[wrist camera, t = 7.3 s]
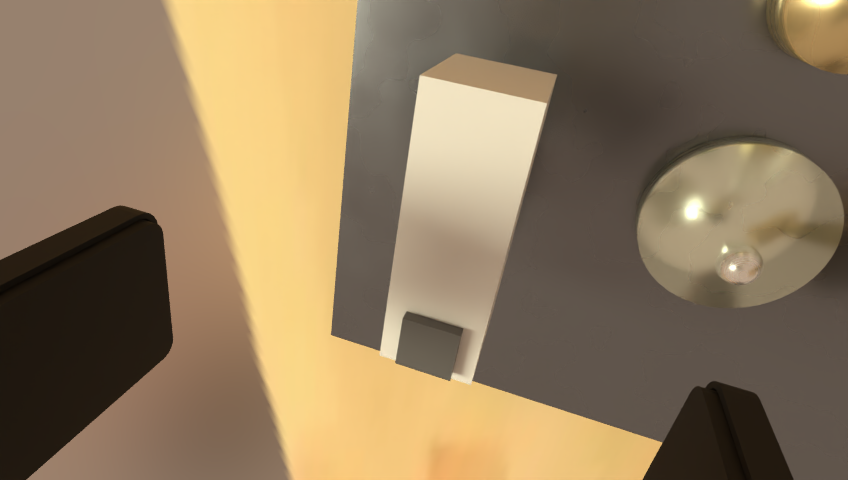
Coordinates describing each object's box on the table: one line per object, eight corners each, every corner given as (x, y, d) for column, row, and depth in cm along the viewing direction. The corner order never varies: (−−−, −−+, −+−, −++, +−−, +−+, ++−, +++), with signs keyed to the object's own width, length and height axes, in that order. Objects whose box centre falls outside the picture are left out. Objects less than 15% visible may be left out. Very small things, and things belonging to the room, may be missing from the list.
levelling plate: (401, -204, 14) (349, -251, 11) (1542, -62, 10) (1945, -75, 7) (350, 308, 23) (313, 359, 20) (949, 495, 19) (1017, 595, 16)
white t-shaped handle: (477, 40, 15) (414, 78, 9) (563, 57, 14) (545, 106, 9) (437, 251, 18) (375, 362, 13) (504, 270, 18) (468, 393, 12)
